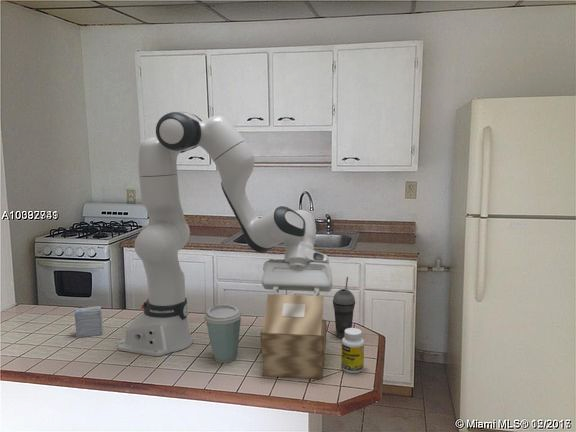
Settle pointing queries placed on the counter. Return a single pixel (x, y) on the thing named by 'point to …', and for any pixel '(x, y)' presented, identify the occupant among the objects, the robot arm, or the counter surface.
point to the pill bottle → (352, 351)
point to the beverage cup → (343, 310)
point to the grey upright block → (88, 321)
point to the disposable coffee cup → (223, 331)
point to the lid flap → (293, 315)
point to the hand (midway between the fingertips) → (295, 303)
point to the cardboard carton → (293, 355)
